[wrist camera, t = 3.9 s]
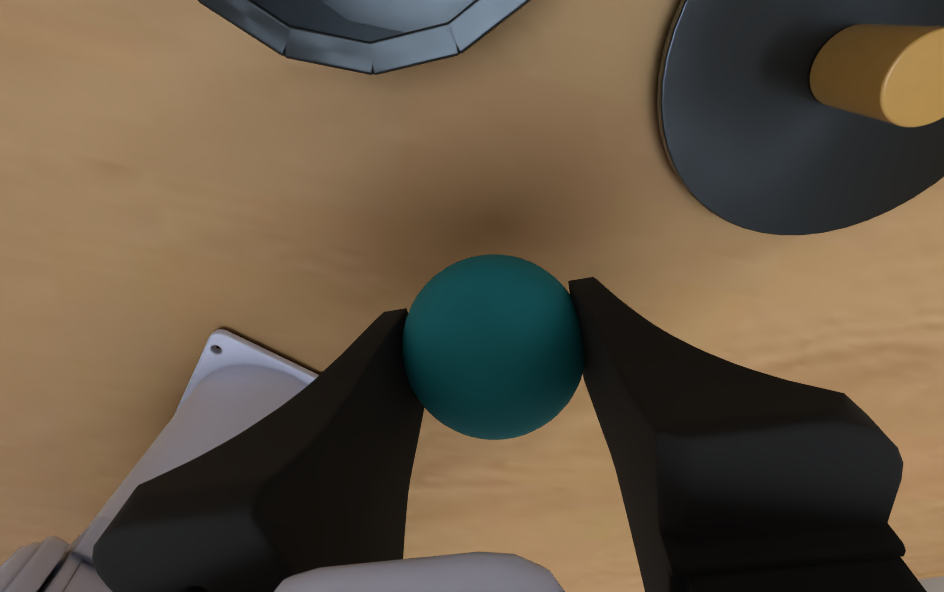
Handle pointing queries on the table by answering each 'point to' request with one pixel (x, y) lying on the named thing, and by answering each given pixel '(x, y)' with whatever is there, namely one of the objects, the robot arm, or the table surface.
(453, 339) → the ball
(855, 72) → the pot lid
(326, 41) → the black pot
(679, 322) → the table surface
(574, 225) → the table surface
